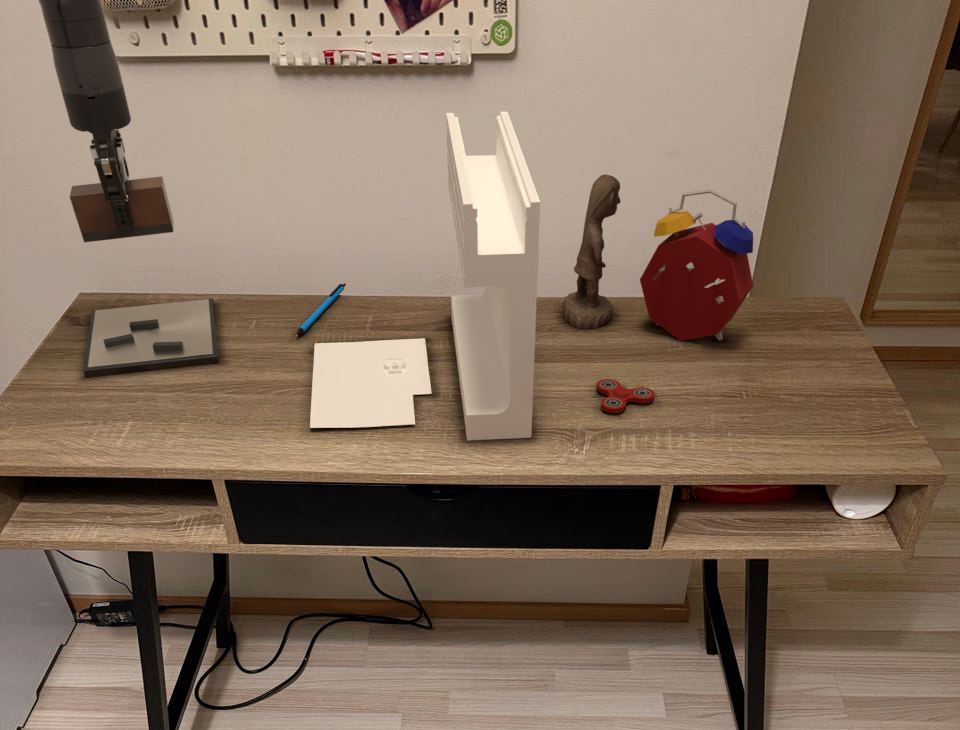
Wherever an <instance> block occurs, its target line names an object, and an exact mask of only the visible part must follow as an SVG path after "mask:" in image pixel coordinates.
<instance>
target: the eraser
mask: <svg viewBox="0 0 960 730" xmlns="http://www.w3.org/2000/svg"><path fill="white" fill-rule="evenodd" d="M125 188H126V193H127V195H128V198H129V199H128V203H129V207H130V211H131V215H132V219H133V223H134V230H133V231H126V232H120V231H118V229H117V226H116V222H115V219H114V215H113V211H112V207H111V203H107V201H106V200H105V195H104V191H103V188H102V185H101V182H98V183H97V182H96V183H89V184H88V183H87V184H78V185H72V186H71V189H70V193H69V200H70V203H71V207H72V209H73V212H74V215H75V218H76V222H77V225H78V227H79V232H80V234H81V237H82V240H83V243H92V242H100V241H108V240H117V239H126V238H135V237H143V236H153V235H161V234H169V233H174V217H173V213H172V210H171V209H172V208H171V205H170V201H169V197H168V193H167V190H166V189H167V188H166V185H165V181H164V178H163V176H153V177H152V176H151V177H144V178H133V179H128V180H127V182H125ZM110 190H111V192H120V191H119V188H118V187H117V186H113V187H110Z"/></svg>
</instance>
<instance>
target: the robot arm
mask: <svg viewBox="0 0 960 730" xmlns="http://www.w3.org/2000/svg"><path fill="white" fill-rule="evenodd" d="M38 3H39V5H40V9H41V13H42V18H43V21H44V24H45V28H46V33H47V35H48V39H49V43H50V47H51V52H52V59H53V65H54V69H55V73H56V76H57V77H56V78H57V80H58V83H59V87H60V92H61V94H62V98H63V103H64V106H65V110H66V113H67V116H68V119H69V124H70V126H71V127H72V128H73V129H74V130H76V131H79V132H83V133H85V132H87V133H90V134H91V135H92V139H90V142H91V143H90V145H89V151H90V155H91V157H92V159H93V160H94V161H93V164H94V166H95V168H96V172H97V176H98V180H99V183H101V185H102V188H103V191H104V195H105V200H106V201H107V203H111V207H112V211H113V215H114V219H115V222H116V226H117V229H118V231H120V232H126V231H133V230H134V223H133V219H132V215H131V211H130V207H129V203H128V199H129V198H128V195H127V193H126V188H125V182H127V180H129V179H130V172H129V164H128V160H127V157H126V148H125V142H124V138H123V137H121V136H122V135H121V132H120V130H121V129H123V128H125V127H127V126H129V125H130V124H131V121H132V116H131V114H130V113H131V112H130V108H129V104H128V100H127V96H126V91H125V87H124V83H123V79H122V75H121V70H120V66H119V62H118V59H117V55H116V53H115V50H114V48H113V44H112V41H111V37H110V32H109V28H108V23H107V18H106V15H105V10H104V6H103V4H102V0H38ZM113 186H117V187H118V188H119V191H120V192H111V190H110V187H113Z"/></svg>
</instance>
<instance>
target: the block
mask: <svg viewBox="0 0 960 730" xmlns="http://www.w3.org/2000/svg"><path fill="white" fill-rule="evenodd" d="M445 115H446V116H445V118H446V144H447V145H446V148H447V153H446V155H447V172H448V174H447V185H448V192H449V199H450V204H451V211H452V216H453V223H454V229H455V236H456V242H457V250H458V255H459V261H460V268H461V274H462V279H463V286H464V289H465V288H484V289H483V291H482V292H480V293H479V294H475V295H452V296H450V302H451V303H450V304H451V305H450V307H451V309H450V310H451V324H452V333H453V340H454V349H455V356H456V364H457V372H458V379H459V381H458V382H459V387H460V395H461V402H462V405H461V406H462V413H463V419H464V427H465V434H466V441H485V440H507V439H508V440H509V439H529V438H532V433H533V431H532V429H533V407H534V405H533V403H534V402H533V401H534V379H535V376H534V375H535V355H536V354H535V353H536V351H535V350H536V329H537V328H536V325H537V324H536V323H537V322H536V321H537V302H538V300H537V299H538V298H537V297H538V276H539V273H538V272H539V250H540V249H539V248H540V247H539V245H540V222H541V221H540V219H541V200H540V198H539V194H538V191H537V188H536V186H535V184H534V181H533V178H532V175H531V172H530V170H529V167H528V164H527V161H526V158H525V156H524V153H523V150H522V147H521V145H520V142H519V139H518V137H517V133H516V131H515V128H514V125H513V122H512V120H511V118H510V114H509V112H508V111H499V115H496V116H495V117H496V118H495V122H496V128H495V154H486V155H482V154H481V155H467V154H466V153H467V152H466V149H465V145H464V139H463V136H462V131H461V126H460V122H459V121H460V120H459V117H458V116H455V113H454V112H446V113H445Z"/></svg>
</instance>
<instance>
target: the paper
mask: <svg viewBox="0 0 960 730" xmlns="http://www.w3.org/2000/svg"><path fill="white" fill-rule="evenodd" d="M311 386H312V387H311V398H310V400H311V402H310V418H309V420H310V421H309V428H310V429H320V428H322V429H324V428H325V429H326V428H330V429H331V428H335V429H337V428H338V429H339V428H342V429H343V428H345V429H346V428H351V429H352V428H353V429H354V428H372V427H373V428H374V427H375V428H376V427H391V426H392V427H393V426H408V425H410V426H411V425H416V418H415V407H414V406H415V405H414V396H416V395H431V394H432V386H431V377H430V369H429V361H428V352H427V344H426V338H425V337H424V338H421V337H420V338H403V339H384V340H363V341H347V342H346V341H345V342H344V341H343V342H320V343H319V342H317V343H316V342H315V343H314V350H313V365H312V384H311Z"/></svg>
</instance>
